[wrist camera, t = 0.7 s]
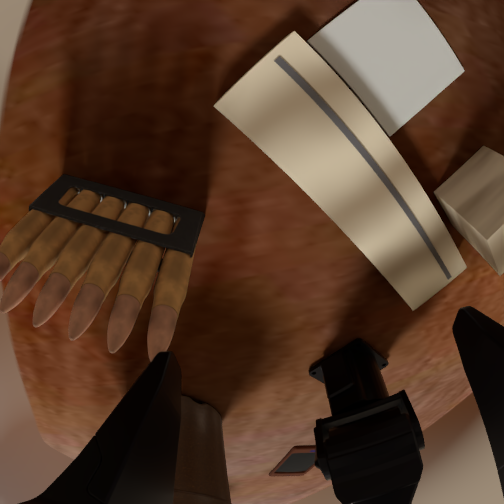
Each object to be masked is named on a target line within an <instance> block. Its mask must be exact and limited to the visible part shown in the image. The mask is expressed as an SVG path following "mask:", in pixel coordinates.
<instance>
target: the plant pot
mask: <svg viewBox="0 0 504 504" xmlns="http://www.w3.org/2000/svg"><path fill="white" fill-rule="evenodd" d="M173 504H231V499H230V491H229V484H228V477H227V469H226V460H225V450H224V441H223V431H222V419H221V416H220V415H219V413H218V412H217V411H216V410H215V409H214V408H213V407H211V406H210V405H208V404H206V403H203V404H198V403H196V402H195V401H193V400H192V399H191V398H190V397H187V396H182V395H181V426H180V435H179V444H178V454H177V464H176V474H175V485H174V496H173Z"/></svg>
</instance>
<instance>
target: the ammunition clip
mask: <svg viewBox="0 0 504 504" xmlns="http://www.w3.org/2000/svg"><path fill="white" fill-rule="evenodd" d="M29 211H30V212H29V213H28V214H27V215H26V216H25V217H24V218H23V219H22V220H21V221H20V222H19V223H18V224H17V225H16V226H15V227H14V228H13V229H12V230H11V231H10V232H9V233H8V234H7V235H6V237H5V239H4V240H3V242H2V244H1V245H0V281H1V280H2V279H3V278H4V277H5V275H6V274H7V273H8V272H9V271H10V270H11V269H12V268H13V267H14V266H15V265H16V264H17V263H18V262H19V261H20V260H22V259H23V258H24V259H23V261H22V262H21V264H20V266H19V267H18V268H17V270H16V271H15V272H14V274H13V275H12V277H11V279H10V281H9V282H8V284H7V286H6V289H5V291H4V294H3V297H2V299H1V304H0V312H1V313H6V312H8V311H10V310H11V309H13V308H14V307H15V306H16V305H18V304H19V303H20V302H21V301H22V300H23V299H24V298H25V297H26V295H27V294H28V293H29V292H30V291H31V289H32V288H33V287H34V285H35V284H36V282H38V281H39V279H40V278H41V277H42V276H43V274H44V273H45V272H46V271H47V270H49V269H50V268H51V267H52V266H53V265H54V264H55V262H56V261H57V263H56V265H55V267H54V269H53V271H52V272H51V274H50V276H49V278H48V280H47V281H46V283H45V285H44V286H43V288H42V290H41V292H40V294H39V297H38V299H37V302H36V305H35V309H34V313H33V326H34V327H38V326H40V325H42V324H43V323H45V322H46V321H47V320H48V319H49V318H50V317H51V316H52V315H53V314H54V313H55V312H56V310H57V309H58V308H59V306H60V305H61V304H62V302H63V301H64V299H65V298H66V296H67V294H68V293H69V292H70V290H71V289H72V288H73V286H74V284H75V283H76V282H77V281H78V280H79V279H80V278H81V277H82V276H83V274H84V273H85V272H86V270H87V269H88V272H87V276H86V278H85V280H84V282H83V284H82V287H81V290H80V292H79V294H78V296H77V298H76V300H75V303H74V306H73V308H72V312H71V316H70V322H69V338H70V340H72V341H73V340H75V339H77V338H78V337H79V336H81V335H82V334H83V333H84V331H85V330H86V329H87V328H88V327H89V325H90V324H91V323H92V321H93V320H94V318H95V317H96V315H97V313H98V311H99V309H100V307H101V305H102V303H103V301H104V300H105V298H106V296H107V295H108V293H109V291H110V290H111V288H112V287H113V286H114V285H115V284H116V282H117V280H118V278H119V276H120V274H121V272H122V270H123V268H124V266H125V264H126V263H127V264H126V267H125V269H124V271H123V273H122V276H121V279H120V285H119V291H118V294H117V296H116V299H115V304H114V306H113V309H112V312H111V315H110V320H109V324H108V332H107V343H108V349H109V352H110V353H115V352H116V351H117V350H118V349H119V348H120V347H121V346H122V345H123V344H124V342H125V341H126V339H127V338H128V336H129V334H130V333H131V331H132V328H133V326H134V324H135V322H136V319H137V317H138V314H139V311H140V309H141V307H142V304H143V302H144V300H145V298H146V297H147V295H148V294H149V292H150V290H151V287H152V285H153V282H154V279H155V276H156V273H157V271H158V272H159V273H158V276H157V280H156V283H155V286H154V301H153V305H152V310H151V317H150V321H149V326H148V337H147V344H148V354H149V358H150V361H152V360H153V358H154V357H155V356H156V355H157V353H159V352H161V351H167V349H168V347H169V345H170V342H171V340H172V337H173V334H174V331H175V327H176V322H177V319H178V316H179V312H180V308H181V306H182V304H183V302H184V300H185V297H186V293H187V288H188V283H189V278H190V273H191V268H192V263H193V258H194V253H195V249H196V244H197V240H198V237H199V233H200V230H201V227H202V224H203V221H204V217H205V214H204V213H203V212H200V211H197V210H193V209H190V208H186V207H183V206H179V205H176V204H172V203H169V202H165V201H162V200H158V199H154V198H151V197H147V196H144V195H140V194H136V193H133V192H129V191H125V190H122V189H118V188H114V187H111V186H107V185H103V184H99V183H96V182H92V181H88V180H84V179H81V178H77V177H73V176H69V175H65V174H63V175H62V176H61V177H60V178H59V179H57V180H56V181H55V182H54V183H53V184H52V185H51V186H50V187H49V188H48V189H46V190H45V191H44V192H43V193H42V194H41V195H40V196H39V197H38V198H37V199H36V200H35V201H34V202H33V203H32V204H31V205H30V206H29ZM137 240H138V241H137ZM136 241H137V243H136ZM135 243H136V245H135ZM134 245H135V247H134ZM133 247H134V249H133ZM165 248H166V251H165V254H164V257H163V259H161V258H162V255H163V253H164V250H165ZM132 249H133V251H132ZM88 267H89V268H88Z"/></svg>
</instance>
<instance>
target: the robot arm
mask: <svg viewBox="0 0 504 504" xmlns="http://www.w3.org/2000/svg"><path fill="white" fill-rule="evenodd" d="M452 329H453V335H454V338H455V341H456V344H457V347H458V350H459V354H460V357H461V360H462V364H463V367H464V370H465V373H466V376H467V378H468V381H469V383H470V386H471V388H472V391H473V394H474V396H475V399H476V402H477V404H478V408H479V410H480V413H481V416H482V419H483V422H484V425H485V428H486V432H487V435H488V438H489V441H490V444H491V448H492V452H493V455H494V458H495V462H496V466H497V470H498V475H499V479H500V483H501V487H502V492H503V496H504V327H503V326H502V325H500V324H499V323H497V322H496V321H494V320H492V319H491V318H489V317H488V316H486V315H485V314H483V313H481V312H480V311H478V310H476V309H475V308H473V307H471V306H466V307H462V308H460V309H459V310H458V313H457V316H456V318H455V321H454V324H453V328H452ZM387 365H388V361H387V359H386V358H384V357H383V356H382V355H381V354H379V353H378V352H377V351H376V350H374V349H373V348H372V347H371V346H370V345H368V344H367V343H366V342H365V341H363V340H362V339H356V340H354V341H353V342H351V343H350V344H348V345H347V346H345V347H344V348H342V349H341V350H339V351H338V352H336V353H334V354H333V355H331V356H330V357H328V358H327V359H325V360H323V361H322V362H320V363H319V364H317V365H315V366H314V367H312V368H310V369H309V375H310V376H312V377H313V378H315V379H317V380H319V381H321V382H322V383H324V384H325V388H326V393H327V397H328V400H329V404H330V409H331V414H332V416H330V417H327V418H324V419H321V418H320V419H317V420H316V427H315V428H314V434H315V441H316V449H315V466H316V467H317V468H318V469H320V470H321V471H322V473H323V475H324V477H325V479H326V480H332V485H333V489H334V493H335V495H336V497H337V499H338V500H339V501H340V502H341V503H342V504H411V503H412V500H413V497H414V494H415V491H416V488H417V486H418V482H419V480H420V478H421V474H422V470H423V463H422V459H421V455H420V450H422V449H424V447H425V445H424V438H423V434H422V430H421V427H420V424H419V421H418V418H417V416H416V414H415V412H414V409H413V407H412V405H411V403H410V401H409V398H408V396H407V394H406V392H405V390H402V391H399V393H397V394H394V395H392V396H389V394H388V391H387V388H386V385H385V383H384V380H383V377H382V374H381V371H380V370H381V369H383V368H385V367H386V366H387ZM180 426H181V369H180V366H179V364H178V362H177V360H176V357H175V355H174V353H173V352H172V351H161V352H159V353H157V355H156V356H155V357H154V358H153V360H152V361H151V362H150V364H149V365H148V366H147V367H146V369H145V370H144V371H143V373H142V374H141V375H140V376H139V378H138V379H137V380H136V382H135V383H134V384H133V385H132V387H131V388H130V389H129V391H128V392H127V393H126V395H125V396H124V397H123V398H122V400H121V401H120V402H119V404H118V405H117V406H116V408H115V409H114V410H113V411H112V413H111V414H110V415H109V417H108V418H107V419H106V421H105V422H104V423H103V424H102V426H101V427H100V428H99V430H98V431H97V432H96V434H95V435H96V436H93V437H92V439H91V440H90V441H89V443H88V444H87V445H86V446H85V448H84V449H83V450H82V451H81V453H80V454H79V455H78V456H77V457H76V459H75V460H74V461H73V462H72V463H71V464H70V465H69V466H68V467H67V468H66V469H65V470H64V472H63V473H62V474H61V475H60V476H59V477H58V478H57V479H56V480H55V481H54V482H53V483H52V484H51V485H50V486H49V487H48V488H47V489H46V490H45V491H44V492H43V493H42V494H40V495H39V496H37V497H36V498H34V499H31V500H29V501H25V502H22V503H19V504H173V496H174V485H175V474H176V464H177V454H178V444H179V435H180Z"/></svg>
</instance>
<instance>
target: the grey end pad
mask: <svg viewBox="0 0 504 504" xmlns="http://www.w3.org/2000/svg"><path fill="white" fill-rule="evenodd" d="M307 42H308V43H309V44H310V45H311V46H312V47H313V48H314V49H315V50H316V51H317V52H318V53H319V54H320V55H321V56H322V57H323V58H324V59H325V60H326V61H327V62H328V63H329V65H330V66H331V67H332V68H333V69H334V70H335V71H336V72H337V73H338V74H339V76H340V77H341V78H342V79H343V80H344V81H345V82H346V84H347V85H348V86H349V87H350V88H351V89H352V90H353V92H354V93H355V94H356V95H357V96H358V98H359V99H360V100H361V101H362V102H363V104H364V105H365V106H366V107H367V109H368V110H369V111H370V112H371V114H372V115H373V116H374V118H375V119H376V120H377V121H378V123H379V124H380V125H381V127H382V128H383V129H384V131H385V132H386V133H387V135H388V136H391V135H392V134H394V133H395V132H396V131H397V130H398V129H399V128H400V127H402V126H403V125H404V124H405V123H406V122H407V121H408V120H410V119H411V118H412V117H413V116H414V115H415V114H416V113H418V112H419V111H420V110H421V109H422V108H423V107H424V106H425V105H427V104H428V103H429V102H430V101H431V100H432V99H433V98H435V97H436V96H437V95H438V94H439V93H440V92H441V91H443V90H444V89H445V88H446V87H447V86H448V85H449V84H450V83H452V82H453V81H454V80H455V79H456V78H457V77H458V76H460V75H461V74H462V73H463V72H464V69H463V67H462V66H461V64H460V62H459V60H458V59H457V57H456V56H455V54H454V52H453V51H452V49H451V48H450V46H449V45H448V43H447V41H446V40H445V38H444V37H443V35H442V34H441V33H440V31H439V30H438V28H437V27H436V25H435V24H434V23H433V21H432V20H431V18H430V17H429V16H428V14H427V13H426V12H425V10H424V9H423V8H422V6H421V5H420V4H419V3H418V1H417V0H359V1H357V2H356V3H354V4H353V5H352V6H350V7H349V8H348V9H346V10H345V11H344V12H342V13H341V14H340V15H339V16H337V17H336V18H335V19H333V20H332V21H331V22H330V23H328V24H327V25H326V26H325V27H323V28H322V29H321V30H320V31H318V32H317V33H316V34H315V35H313V36H312V37H311V38H310V39H309V40H307Z"/></svg>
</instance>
